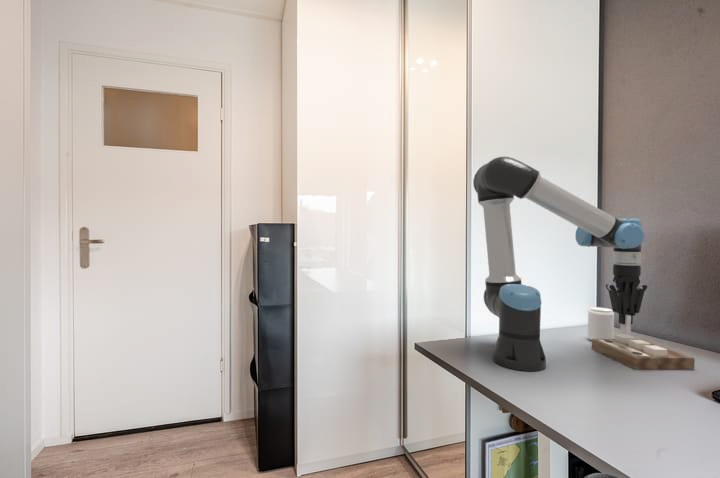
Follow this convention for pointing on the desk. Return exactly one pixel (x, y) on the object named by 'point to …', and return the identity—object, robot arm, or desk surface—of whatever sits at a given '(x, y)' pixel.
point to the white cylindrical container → (600, 323)
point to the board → (642, 356)
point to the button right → (655, 351)
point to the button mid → (637, 344)
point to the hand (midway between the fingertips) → (625, 333)
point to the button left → (623, 338)
